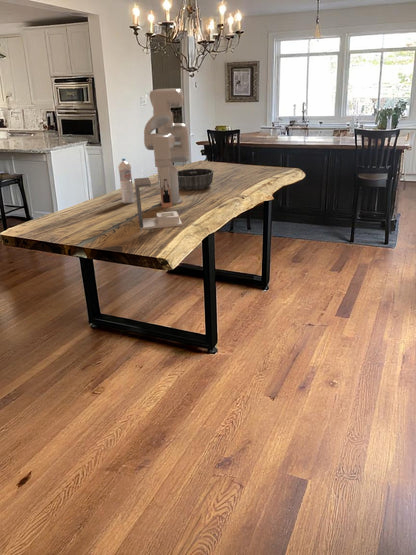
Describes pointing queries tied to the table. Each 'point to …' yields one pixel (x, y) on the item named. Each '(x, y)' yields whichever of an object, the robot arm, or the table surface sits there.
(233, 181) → the table surface
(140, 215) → the grey l-shaped bracket
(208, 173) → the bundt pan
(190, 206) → the table surface
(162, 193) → the peg
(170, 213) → the socket stand
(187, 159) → the robot arm
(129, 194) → the water bottle
